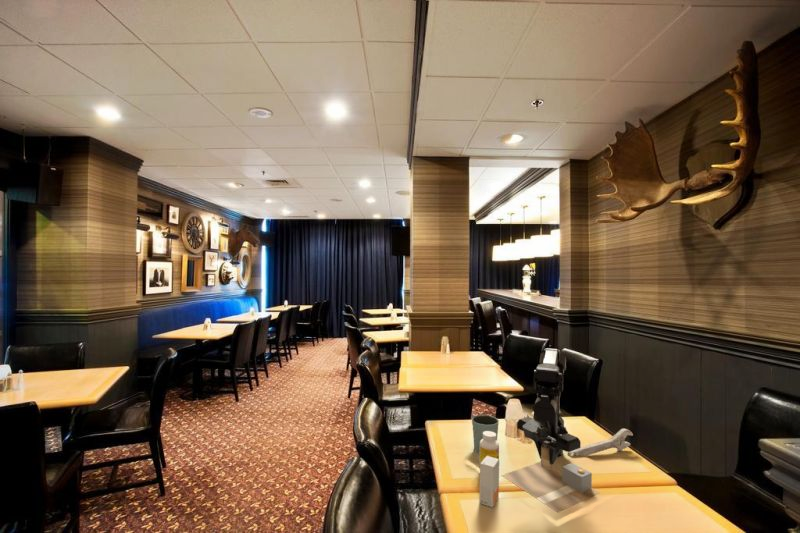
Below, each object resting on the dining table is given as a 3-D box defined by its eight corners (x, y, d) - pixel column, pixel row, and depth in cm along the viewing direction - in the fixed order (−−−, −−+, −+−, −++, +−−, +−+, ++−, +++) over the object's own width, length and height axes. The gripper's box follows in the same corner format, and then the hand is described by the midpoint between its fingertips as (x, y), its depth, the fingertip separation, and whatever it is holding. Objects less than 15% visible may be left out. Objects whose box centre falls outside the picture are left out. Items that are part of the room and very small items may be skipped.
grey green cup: (501, 448, 148) (502, 418, 148) (493, 459, 139) (493, 426, 139) (477, 442, 153) (477, 412, 153) (467, 452, 145) (467, 420, 145)
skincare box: (492, 508, 110) (493, 467, 111) (479, 503, 113) (479, 463, 113) (499, 497, 116) (499, 458, 116) (485, 493, 118) (486, 455, 118)
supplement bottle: (499, 476, 127) (499, 438, 128) (479, 474, 129) (479, 436, 129) (498, 466, 134) (498, 430, 134) (479, 464, 135) (479, 428, 136)
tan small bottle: (545, 463, 115) (545, 439, 116) (554, 467, 113) (554, 443, 113) (538, 465, 114) (538, 441, 114) (547, 470, 111) (547, 445, 111)
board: (542, 464, 136) (542, 461, 136) (600, 496, 117) (600, 492, 117) (501, 478, 126) (501, 475, 126) (557, 516, 107) (557, 512, 107)
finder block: (571, 478, 125) (571, 461, 125) (591, 488, 119) (591, 471, 119) (562, 482, 123) (562, 465, 123) (581, 493, 116) (581, 475, 117)
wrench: (568, 465, 141) (630, 446, 150) (571, 468, 140) (634, 448, 148) (566, 444, 141) (628, 426, 150) (569, 446, 139) (632, 428, 148)
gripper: (504, 404, 118) (504, 454, 117) (556, 425, 101) (555, 484, 101) (529, 398, 123) (529, 446, 123) (581, 418, 107) (581, 473, 107)
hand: (546, 461), depth 113 cm, fingers closed on tan small bottle, 3 cm apart
